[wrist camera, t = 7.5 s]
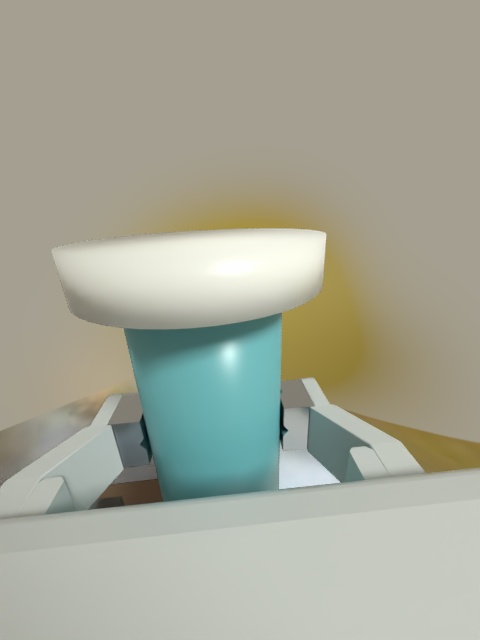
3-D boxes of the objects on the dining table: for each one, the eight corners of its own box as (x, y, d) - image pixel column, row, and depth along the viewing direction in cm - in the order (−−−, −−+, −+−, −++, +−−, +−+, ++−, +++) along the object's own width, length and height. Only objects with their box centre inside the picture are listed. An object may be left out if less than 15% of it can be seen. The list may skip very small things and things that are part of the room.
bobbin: (139, 679, 9) (-47, 266, 4) (170, 494, 15) (115, 234, 10) (323, 652, 9) (390, 242, 4) (282, 482, 15) (288, 225, 10)
